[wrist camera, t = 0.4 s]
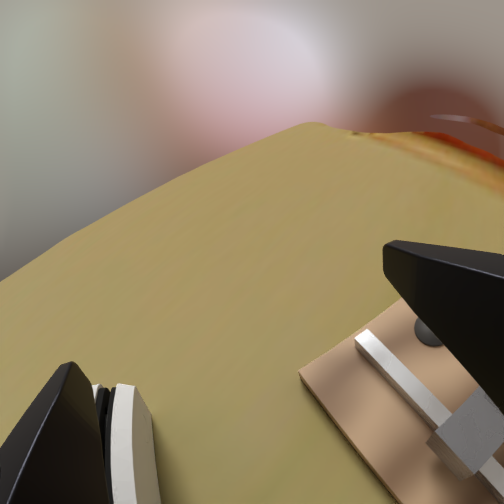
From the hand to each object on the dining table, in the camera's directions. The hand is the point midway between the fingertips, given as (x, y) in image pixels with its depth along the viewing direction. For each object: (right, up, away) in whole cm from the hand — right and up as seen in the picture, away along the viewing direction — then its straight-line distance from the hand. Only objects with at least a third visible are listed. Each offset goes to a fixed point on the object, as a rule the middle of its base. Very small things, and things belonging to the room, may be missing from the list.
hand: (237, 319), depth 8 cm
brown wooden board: (+15, -10, +8) cm, 19 cm away
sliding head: (+15, -9, +6) cm, 19 cm away
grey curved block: (-7, -17, +9) cm, 21 cm away
